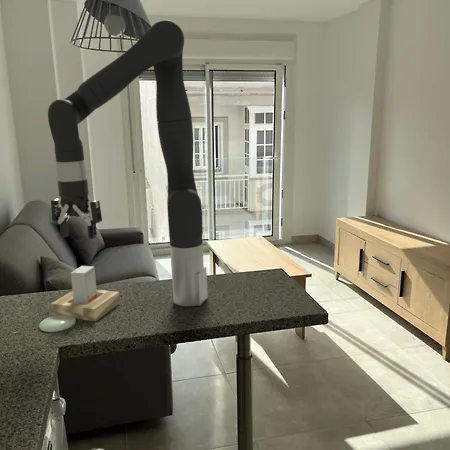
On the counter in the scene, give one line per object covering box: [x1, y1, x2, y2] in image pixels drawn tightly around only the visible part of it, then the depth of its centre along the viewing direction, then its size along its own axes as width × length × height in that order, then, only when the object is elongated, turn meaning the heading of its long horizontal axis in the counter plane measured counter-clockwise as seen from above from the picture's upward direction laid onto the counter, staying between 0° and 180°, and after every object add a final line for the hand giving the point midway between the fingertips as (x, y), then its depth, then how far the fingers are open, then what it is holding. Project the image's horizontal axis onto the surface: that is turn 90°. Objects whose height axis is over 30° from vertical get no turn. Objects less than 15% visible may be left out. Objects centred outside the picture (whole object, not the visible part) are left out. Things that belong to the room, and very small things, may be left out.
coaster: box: [38, 315, 76, 333], centre depth 116 cm, size 9×9×1 cm
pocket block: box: [50, 289, 121, 322], centre depth 124 cm, size 14×12×4 cm
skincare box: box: [70, 265, 98, 305], centre depth 123 cm, size 6×4×12 cm
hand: (78, 237), depth 120 cm, fingers open, 8 cm apart
